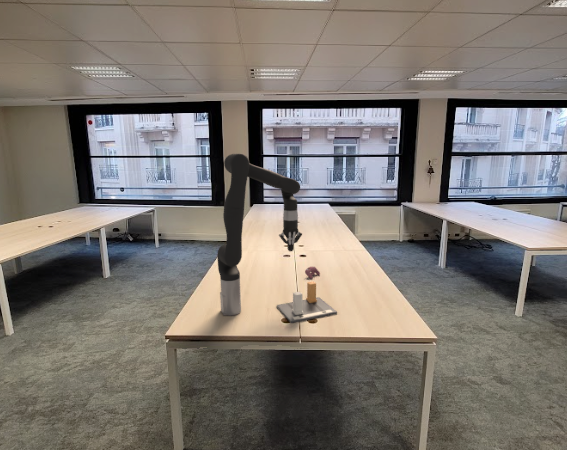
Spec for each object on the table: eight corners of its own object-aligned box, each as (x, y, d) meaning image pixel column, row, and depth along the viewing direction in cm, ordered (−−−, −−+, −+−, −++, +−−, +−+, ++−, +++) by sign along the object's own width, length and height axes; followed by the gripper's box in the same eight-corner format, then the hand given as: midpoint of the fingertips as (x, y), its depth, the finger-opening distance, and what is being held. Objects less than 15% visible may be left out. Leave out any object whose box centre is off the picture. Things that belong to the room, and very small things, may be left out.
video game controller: (315, 276, 210) (311, 265, 211) (321, 274, 207) (317, 264, 208) (306, 280, 203) (302, 269, 203) (312, 278, 200) (308, 268, 201)
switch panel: (291, 323, 147) (291, 320, 147) (276, 306, 164) (276, 304, 163) (337, 313, 156) (337, 311, 156) (319, 298, 173) (319, 296, 172)
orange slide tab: (309, 303, 165) (310, 284, 163) (306, 299, 169) (306, 281, 167) (317, 301, 166) (317, 283, 164) (313, 298, 170) (313, 280, 168)
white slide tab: (295, 315, 152) (295, 295, 150) (291, 311, 156) (291, 292, 154) (303, 313, 154) (303, 294, 152) (299, 309, 157) (299, 290, 156)
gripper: (281, 220, 163) (281, 254, 166) (305, 218, 168) (305, 251, 171) (275, 218, 170) (276, 250, 173) (299, 216, 174) (298, 247, 178)
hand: (290, 250), depth 172 cm, fingers closed
